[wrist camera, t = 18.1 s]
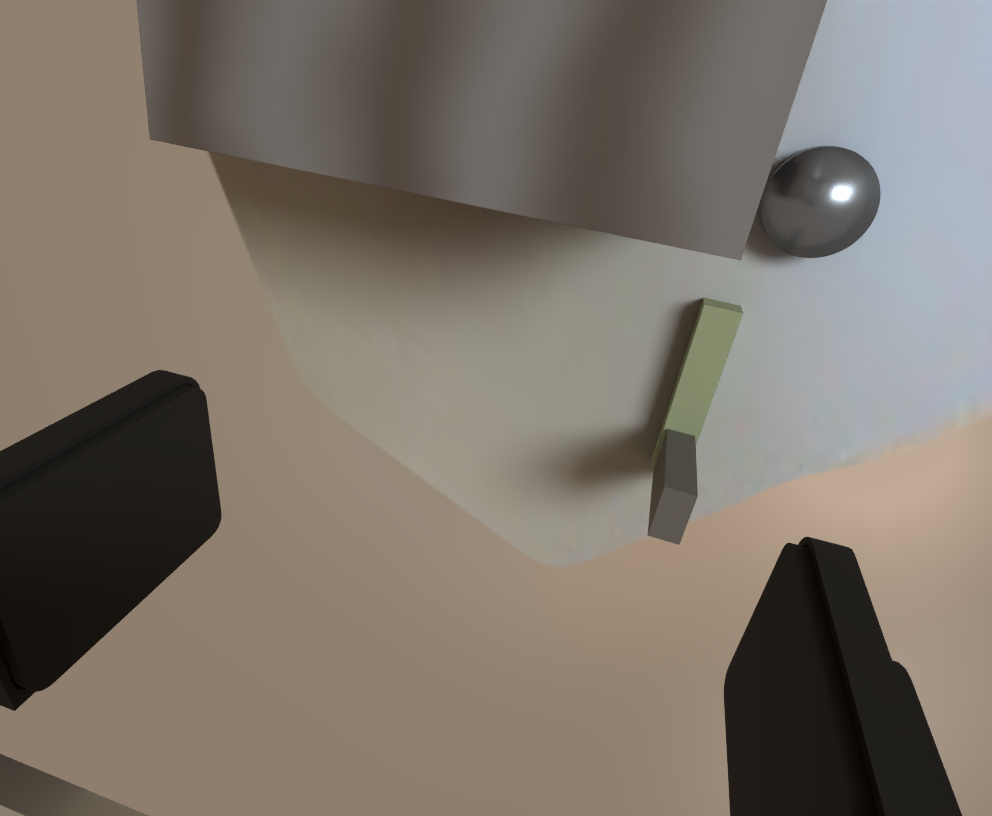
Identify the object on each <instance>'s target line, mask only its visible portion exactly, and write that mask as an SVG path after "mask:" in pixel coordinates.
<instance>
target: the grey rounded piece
mask: <svg viewBox="0 0 992 816" xmlns="http://www.w3.org/2000/svg"><path fill="white" fill-rule="evenodd" d="M879 203H880V185H879V180H878V177H877V175H876V173H875V171H874V169H873V167H872V166H871V165H870V164H869V162H868V161H867V160H865V159H864V158H863V157H862V156H860V155H859V154H857V153H855V152H853V151H851V150H848V149H845V148H841V147H835V146H818V147H812V148H809V149H806V150H803V151H800V152H798V153H796V154H794V155H793V156H791V157H790V158H788V159H787V160H785V161H784V162H783V163H782V164H781V165H780V166H779V167H778V168H777V169H776V170H775V171H774V172H773V174H772V175H771V176H770V178H769V180H768V181H767V183H766V186H765V188H764V191H763V194H762V198H761V207H760V211H761V219H762V223H763V227H764V229H765V231H766V233H767V235H768V237H769V238H770V239H771V241H772V242H773V243H774V244H775V245H776V246H777V247H779V248H780V249H782V250H783V251H785V252H787V253H789V254H792V255H795V256H799V257H805V258H817V257H824V256H828V255H832V254H835V253H837V252H839V251H842V250H843V249H845V248H847V247H849V246H850V245H852V244H853V243H854V242H856V241H857V240H858V239H859V238H860V237H861V236H862V235H863V234H864V233H865V232H866V231H867V229H868V228H869V226H870V225H871V223H872V222H873V220H874V218H875V216H876V213H877V210H878V207H879Z"/></svg>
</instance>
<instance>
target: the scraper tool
mask: <svg viewBox="0 0 992 816" xmlns="http://www.w3.org/2000/svg"><path fill="white" fill-rule="evenodd" d="M742 315H743V312H742V308H741V306H738V305H734V304H730V303H725V302H721V301H716V300H712V299H708V298H703V301H702V304H701V307H700V310H699V313H698V316H697V319H696V322H695V325H694V329H693V332H692V335H691V338H690V341H689V344H688V347H687V350H686V353H685V356H684V359H683V362H682V366H681V369H680V372H679V375H678V378H677V381H676V384H675V387H674V390H673V393H672V396H671V399H670V403H669V406H668V409H667V412H666V415H665V418H664V421H663V424H662V427H661V430H660V433H659V436H658V440H657V443H656V446H655V449H654V452H653V455H652V458H651V467H650V471H653V482H652V493H651V504H650V515H649V527H648V536H652V537H655V538H658V539H662V540H665V541H669V542H672V543H675V544H680V541H681V539H682V536H683V534H684V531H685V528H686V526H687V523H688V520H689V518H690V515H691V512H692V510H693V507H694V504H695V502H696V499H697V496H698V495H697V469H696V443H697V441H698V438H699V435H700V432H701V429H702V427H703V424H704V421H705V418H706V415H707V413H708V410H709V407H710V404H711V402H712V399H713V396H714V393H715V390H716V388H717V385H718V382H719V379H720V376H721V374H722V371H723V368H724V365H725V363H726V360H727V357H728V354H729V351H730V349H731V346H732V343H733V340H734V337H735V335H736V332H737V329H738V326H739V324H740V321H741V318H742Z"/></svg>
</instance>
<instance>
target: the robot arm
mask: <svg viewBox="0 0 992 816" xmlns="http://www.w3.org/2000/svg"><path fill="white" fill-rule="evenodd" d="M220 521H221V507H220V499H219V492H218V484H217V477H216V469H215V461H214V453H213V446H212V439H211V431H210V423H209V416H208V408H207V401H206V396H205V393H204V392H203V391H202V390H201V389H200V387H199V384H198V383H197V382H196V380H194V379H193V378H191V377H187V376H183V375H179V374H176V373H172V372H168V371H164V370H157V371H154V372H151V373H149V374H148V375H146V376H144V377H142V378H140V379H138V380H136V381H134V382H132V383H130V384H128V385H126V386H124V387H123V388H121V389H119V390H117V391H115V392H113V393H111V394H109V395H107V396H105V397H104V398H101V399H100V400H98V401H96V402H94V403H92V404H90V405H88V406H86V407H84V408H82V409H80V410H78V411H77V412H75V413H73V414H71V415H69V416H67V417H65V418H63V419H61V420H59V421H57V422H55V423H54V424H52V425H50V426H48V427H46V428H44V429H42V430H40V431H38V432H36V433H34V434H33V435H31V436H29V437H27V438H25V439H23V440H21V441H19V442H17V443H15V444H13V445H11V446H10V447H8V448H6V449H4V450H2V451H0V705H1V706H4V707H6V708H9V709H11V710H14V711H15V710H16V709H17V708H18V707H19V706H20V705H21V704H23V703H24V702H25V701H26V700H27V699H28V698H29V697H30V696H31V695H32V694H33V693H35V692H36V691H41V690H44V689H46V688H48V687H49V686H50V685H52V684H53V683H54V682H55V681H56V680H57V679H58V678H59V677H61V676H62V675H63V674H64V673H65V672H66V671H67V670H68V669H69V668H70V667H71V666H72V665H73V664H75V663H76V662H77V661H78V660H79V659H80V658H81V657H82V656H83V655H84V654H85V653H86V652H87V651H88V650H90V648H92V647H93V646H94V645H95V644H96V643H97V642H98V641H99V640H100V639H101V638H103V637H104V636H105V635H106V634H107V633H108V632H109V631H110V630H111V629H112V628H113V627H114V626H115V625H116V624H118V623H119V622H120V621H121V620H122V619H123V618H124V617H125V616H126V615H127V614H128V613H129V612H131V611H132V610H133V609H134V608H135V607H136V606H137V605H138V604H139V603H140V602H141V601H142V600H143V599H144V598H146V597H147V596H148V595H149V594H150V593H151V592H152V591H153V590H154V589H155V588H156V587H157V586H158V585H160V584H161V583H162V582H163V581H164V580H165V579H166V578H167V577H168V576H169V575H170V574H171V573H173V572H174V571H175V570H176V569H177V568H178V567H179V566H180V565H181V564H182V563H183V562H184V561H185V560H186V559H188V558H189V557H190V556H191V555H192V554H193V553H194V552H195V551H196V550H197V549H198V548H199V547H200V546H201V545H203V544H204V543H205V542H206V541H207V540H208V539H209V538H210V537H211V536H212V535H213V534H214V533H215V532H216V530H217V528H218V527H219V524H220ZM724 706H725V725H726V743H727V762H728V780H729V799H730V816H962V814H961V811H960V809H959V806H958V803H957V801H956V798H955V795H954V793H953V790H952V788H951V785H950V782H949V779H948V777H947V774H946V771H945V769H944V766H943V763H942V761H941V758H940V756H939V753H938V750H937V747H936V744H935V742H934V739H933V736H932V734H931V731H930V728H929V726H928V723H927V720H926V718H925V715H924V712H923V710H922V707H921V704H920V702H919V699H918V696H917V694H916V691H915V688H914V686H913V683H912V680H911V678H910V676H909V674H908V673H907V671H906V669H905V668H904V667H903V666H902V665H901V664H900V663H898V662H896V661H892V659H891V656H890V653H889V651H888V647H887V645H886V642H885V639H884V636H883V633H882V630H881V628H880V625H879V622H878V619H877V616H876V613H875V611H874V608H873V605H872V602H871V599H870V596H869V594H868V591H867V588H866V585H865V582H864V580H863V576H862V574H861V571H860V568H859V565H858V562H857V559H856V557H855V554H854V552H853V550H852V549H850V548H849V547H845V546H841V545H838V544H834V543H830V542H826V541H822V540H818V539H814V538H810V537H805V538H803V539H802V540H801V541H800V543H799V544H798V545H796V544H792V543H787V544H786V545H785V546H784V548H783V549H782V551H781V554H780V556H779V558H778V560H777V562H776V565H775V567H774V569H773V571H772V573H771V575H770V578H769V580H768V582H767V584H766V586H765V589H764V591H763V593H762V595H761V597H760V599H759V602H758V604H757V606H756V608H755V610H754V613H753V615H752V617H751V619H750V621H749V624H748V626H747V628H746V630H745V632H744V634H743V637H742V639H741V641H740V643H739V645H738V648H737V650H736V652H735V654H734V656H733V658H732V661H731V663H730V665H729V668H728V670H727V673H726V678H725V683H724ZM0 816H148V815H146V814H144V813H141V812H139V811H136V810H134V809H131V808H129V807H127V806H124V805H122V804H120V803H117V802H115V801H112V800H110V799H108V798H105V797H102V796H100V795H98V794H96V793H93V792H91V791H88V790H86V789H84V788H81V787H79V786H76V785H74V784H71V783H69V782H67V781H65V780H62V779H60V778H57V777H55V776H52V775H50V774H48V773H45V772H43V771H40V770H38V769H35V768H33V767H31V766H28V765H26V764H23V763H21V762H18V761H16V760H14V759H11V758H9V757H6V756H4V755H1V754H0Z"/></svg>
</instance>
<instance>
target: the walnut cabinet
mask: <svg viewBox="0 0 992 816" xmlns="http://www.w3.org/2000/svg"><path fill="white" fill-rule="evenodd" d="M826 2H827V0H137V9H138V19H139V30H140V40H141V51H142V60H143V72H144V81H145V92H146V103H147V113H148V123H149V134H150V139H151V140H156V141H161V142H166V143H171V144H175V145H180V146H185V147H191V148H195V149H200V150H205V151H210V152H215V153H219V154H224V155H229V156H234V157H239V158H244V159H249V160H254V161H258V162H263V163H268V164H273V165H278V166H283V167H288V168H293V169H297V170H302V171H307V172H312V173H317V174H322V175H327V176H332V177H337V178H341V179H346V180H351V181H356V182H361V183H366V184H371V185H376V186H380V187H385V188H390V189H395V190H400V191H405V192H410V193H415V194H419V195H424V196H429V197H434V198H439V199H444V200H449V201H454V202H458V203H463V204H468V205H473V206H478V207H483V208H488V209H493V210H498V211H502V212H507V213H512V214H517V215H522V216H527V217H532V218H537V219H541V220H546V221H551V222H556V223H561V224H566V225H571V226H576V227H580V228H585V229H590V230H595V231H600V232H605V233H610V234H615V235H620V236H624V237H629V238H634V239H639V240H644V241H649V242H654V243H659V244H663V245H668V246H673V247H678V248H683V249H688V250H693V251H698V252H702V253H707V254H712V255H717V256H722V257H727V258H732V259H737V260H741V257H742V254H743V251H744V248H745V245H746V242H747V239H748V236H749V233H750V230H751V227H752V224H753V221H754V218H755V215H756V212H757V209H758V206H759V203H760V200H761V197H762V194H763V191H764V188H765V185H766V182H767V179H768V176H769V173H770V170H771V167H772V164H773V161H774V158H775V155H776V152H777V149H778V146H779V143H780V140H781V137H782V134H783V131H784V128H785V125H786V122H787V119H788V116H789V113H790V110H791V107H792V104H793V101H794V98H795V95H796V92H797V89H798V86H799V83H800V80H801V77H802V74H803V71H804V68H805V65H806V62H807V59H808V56H809V53H810V50H811V47H812V44H813V41H814V38H815V35H816V32H817V29H818V26H819V23H820V20H821V17H822V14H823V11H824V8H825V5H826Z"/></svg>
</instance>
